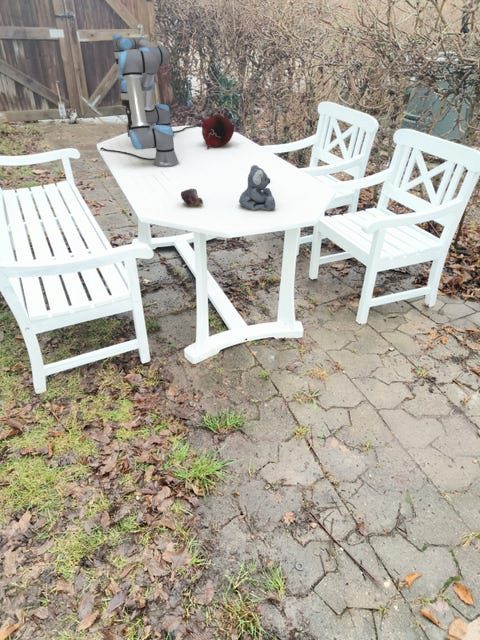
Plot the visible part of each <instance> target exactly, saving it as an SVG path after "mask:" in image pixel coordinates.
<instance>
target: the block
mask: <svg viewBox="0 0 480 640" xmlns="http://www.w3.org/2000/svg"><path fill="white" fill-rule="evenodd" d="M125 126H126V133H127V137H128V138H130V134H129V126H128V123H126V125H125Z"/></svg>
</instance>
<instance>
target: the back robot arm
mask: <svg viewBox="0 0 480 640" xmlns="http://www.w3.org/2000/svg"><path fill="white" fill-rule="evenodd" d="M111 36H112V38H111V39H112V45H113V53H114V58H115V64H116V65H119V64H118V57H119V53H120V52H124V51H134V50H137V51H148V52H150V53H152V54H153V55H154V56H155V57H156V58H157V60H158V63H159V67H160V66H164V65H166V64H167V63H168V62H169V59H170V52H169V50H168V49H167V48H166V46H163V45H157V44H156V43H152V42H150V41H148V39H147V38H146V37H142V36H140V37H123V35H122V34H112V35H111ZM119 75H121V74H119ZM153 80H154V81H155V78H154V79H153ZM142 95H143V102H144V108H145V115H146V122H147V123H148V124H149V125H151V124H152V125H153V124H155V125H165V126H169V127H171V128H172V131H173V137H174V136H175V133H181V132H182V131H185V129H191V128H196V127H197V126H199V127H201V124H199V123H197V124H195V125H191V126H186V127H185V126H184V128H182V129H180V130H173V127H172V124H171V123H172V122H171V110H170V106H169V105H168V104H163V103H154V90H150V91H142Z"/></svg>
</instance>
